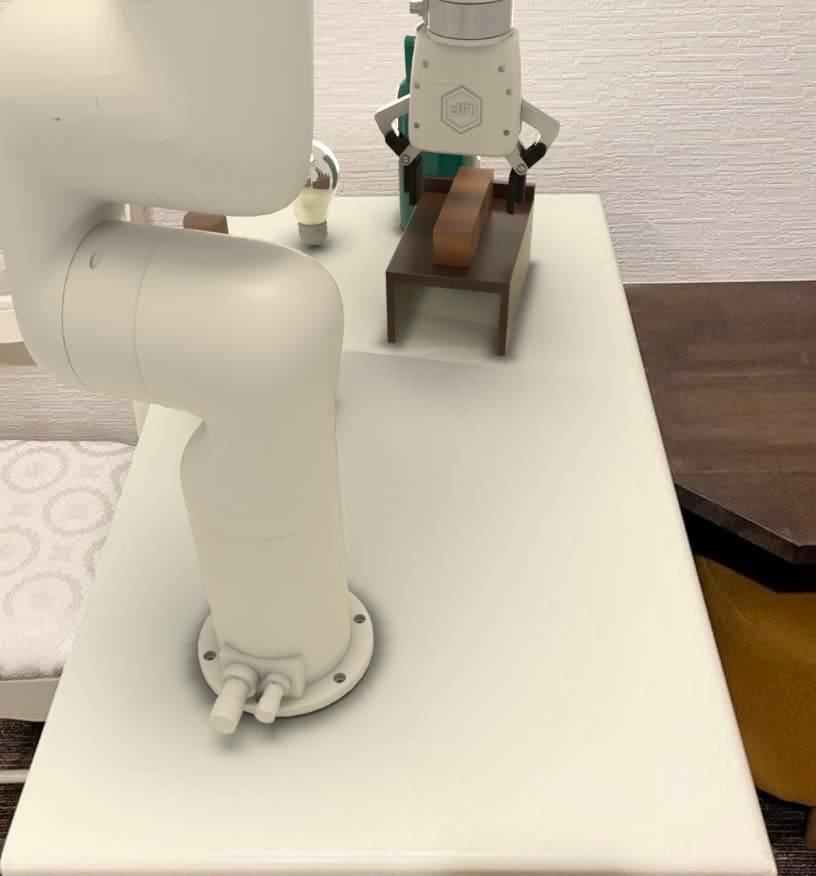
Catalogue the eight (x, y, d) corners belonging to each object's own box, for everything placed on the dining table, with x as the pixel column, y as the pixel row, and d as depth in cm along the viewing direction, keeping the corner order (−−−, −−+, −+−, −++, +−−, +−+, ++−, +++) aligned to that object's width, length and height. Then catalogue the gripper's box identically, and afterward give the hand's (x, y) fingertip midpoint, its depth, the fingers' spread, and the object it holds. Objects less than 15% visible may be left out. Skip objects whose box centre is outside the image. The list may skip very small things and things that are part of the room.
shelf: (505, 355, 98) (510, 268, 91) (387, 342, 100) (384, 255, 93) (529, 265, 110) (535, 182, 104) (424, 255, 112) (423, 173, 106)
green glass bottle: (414, 200, 122) (412, 6, 107) (481, 208, 120) (489, 12, 105) (392, 237, 115) (386, 36, 100) (462, 246, 114) (468, 43, 98)
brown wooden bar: (469, 268, 95) (470, 233, 92) (432, 264, 95) (433, 229, 93) (492, 202, 104) (494, 168, 102) (458, 199, 105) (459, 166, 102)
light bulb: (349, 255, 113) (342, 151, 104) (288, 263, 112) (276, 158, 103) (339, 227, 117) (332, 125, 109) (280, 234, 116) (269, 132, 108)
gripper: (361, 22, 84) (369, 213, 96) (565, 34, 81) (547, 230, 93) (382, -4, 89) (387, 180, 101) (574, 7, 87) (556, 195, 98)
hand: (463, 204), depth 97 cm, fingers open, 9 cm apart
